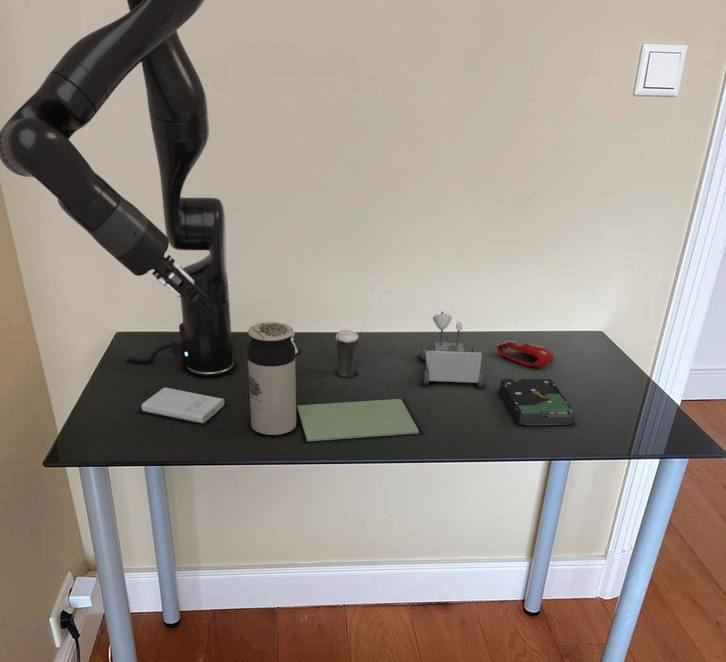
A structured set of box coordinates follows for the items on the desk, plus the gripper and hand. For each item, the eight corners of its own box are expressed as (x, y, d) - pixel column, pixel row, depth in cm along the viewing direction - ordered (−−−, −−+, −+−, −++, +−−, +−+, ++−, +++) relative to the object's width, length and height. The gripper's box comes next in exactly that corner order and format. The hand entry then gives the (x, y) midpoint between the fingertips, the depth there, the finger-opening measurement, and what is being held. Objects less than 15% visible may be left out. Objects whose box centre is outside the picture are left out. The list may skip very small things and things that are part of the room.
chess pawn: (289, 355, 162) (288, 333, 159) (282, 351, 164) (281, 329, 161) (300, 353, 164) (300, 330, 161) (293, 348, 166) (293, 326, 163)
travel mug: (289, 412, 140) (287, 319, 130) (301, 433, 134) (300, 336, 124) (246, 418, 137) (241, 323, 128) (257, 439, 131) (252, 341, 122)
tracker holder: (544, 345, 169) (565, 352, 160) (538, 365, 170) (559, 373, 161) (494, 335, 165) (513, 341, 156) (489, 355, 167) (507, 362, 157)
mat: (307, 441, 131) (307, 439, 131) (296, 407, 142) (296, 405, 142) (418, 433, 135) (419, 431, 135) (400, 401, 146) (400, 398, 145)
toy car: (423, 308, 161) (478, 310, 161) (420, 351, 166) (473, 354, 166) (428, 340, 146) (488, 342, 146) (424, 387, 151) (482, 389, 151)
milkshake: (358, 380, 153) (360, 332, 148) (332, 377, 154) (333, 330, 148) (363, 371, 157) (364, 324, 151) (337, 368, 158) (338, 321, 152)
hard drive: (166, 394, 145) (224, 405, 142) (142, 412, 138) (203, 424, 135) (165, 386, 144) (224, 397, 141) (140, 404, 137) (202, 416, 134)
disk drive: (497, 391, 151) (519, 426, 138) (499, 378, 149) (521, 412, 137) (548, 390, 152) (574, 425, 140) (550, 377, 151) (576, 411, 138)
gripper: (157, 226, 105) (237, 302, 116) (134, 206, 116) (209, 277, 127) (121, 267, 106) (205, 339, 116) (101, 243, 116) (179, 311, 127)
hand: (207, 306), depth 121 cm, fingers open, 8 cm apart
